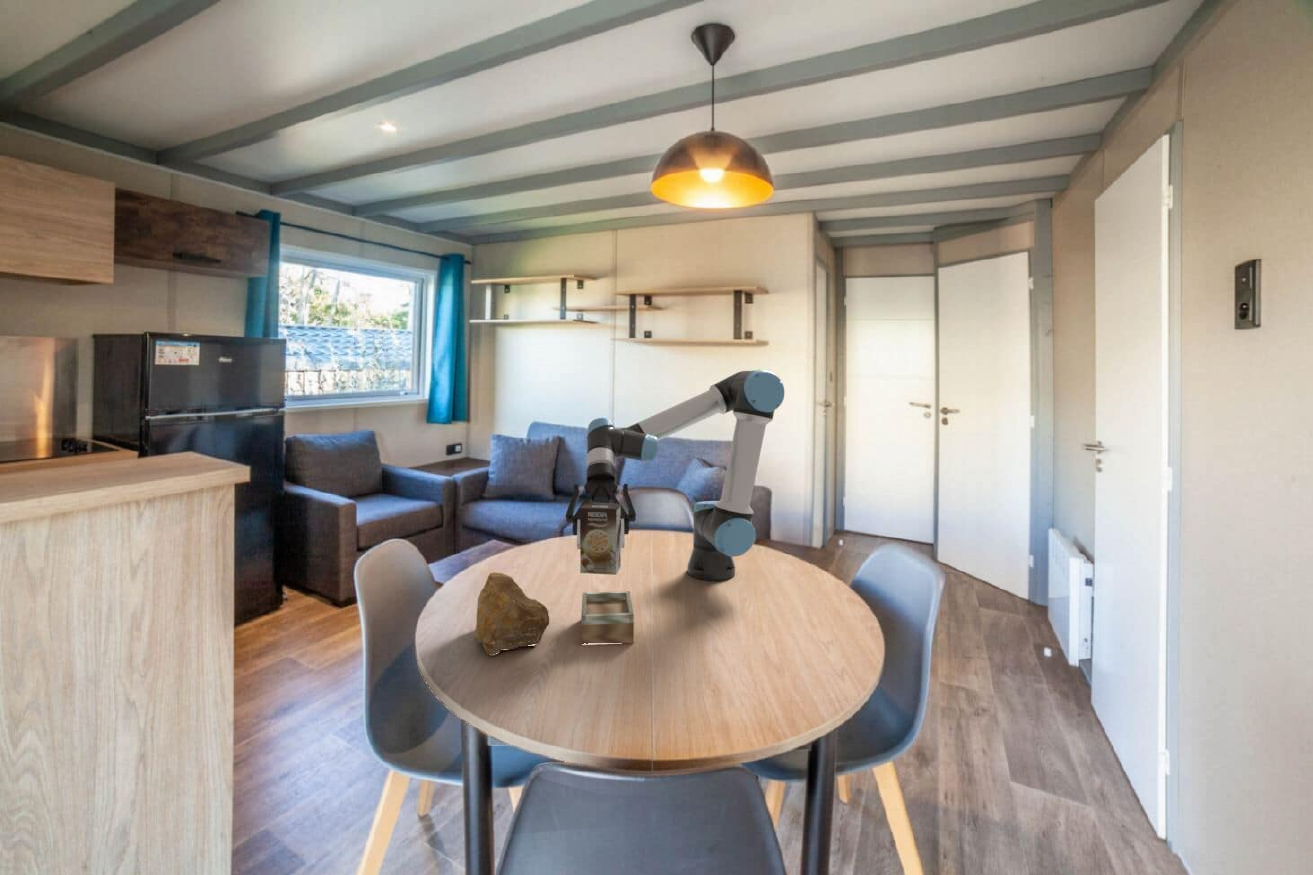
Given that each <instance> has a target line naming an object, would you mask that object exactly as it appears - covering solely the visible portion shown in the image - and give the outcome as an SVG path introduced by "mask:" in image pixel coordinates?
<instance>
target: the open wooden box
mask: <svg viewBox="0 0 1313 875" xmlns="http://www.w3.org/2000/svg"><path fill="white" fill-rule="evenodd" d="M631 595H632V594H631V591H630V590H622V591H597V592H596V591H595V592H594V591H593V592H591V591H590V592H587V591H586V592H582V595H581V596H582V597H581V598H582V600H581V614H580V615H581V618H580V620H581V622H580V623H581V625H580V628H581V630H580V631H581V633H580V634H581V641H580V642H581V644H584V643H586V644H588V643H634V644H635V640H634V638H635V637H634V636H635V630H634V629H635V615H634V614H635V612H634V607H633V603H632V602H633V601H632V596H631Z"/></svg>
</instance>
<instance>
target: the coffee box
mask: <svg viewBox="0 0 1313 875" xmlns="http://www.w3.org/2000/svg"><path fill="white" fill-rule="evenodd" d="M621 506H622V505H621V503H620V504H614V503H609V502H593V503H591V502H586V503H585V504H584V505H582V507H581V508H580V549H579V550H580V552H579V555H580V556H579V558H580V564H579V565H580V569H579V571H580V574H592V575H593V574H594V575H613V576H614V575H617V574H619V571H620V569H621V567H622V566H621V565H622V564H621V563H622V561H621V560H622V559H621V558H622V557H621V556H622V554H621V551H622V548H621Z"/></svg>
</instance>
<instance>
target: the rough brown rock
mask: <svg viewBox="0 0 1313 875" xmlns="http://www.w3.org/2000/svg"><path fill="white" fill-rule="evenodd" d="M475 620H476V625H475V634H474V640H475V642H476V643H477V644H478V643H479V644H482V645H483V649H484V651H485V652H486V653H487V655H488V654H491V655H493V654H496V653H498V652H500V653H501V652H502V650H501V649H511V650H514V649H518V648H519V646H520V647H526V646H528V645H532V644H537V643H539V644H540V642H541V641H542V637H543V634H544V632H545V631H546V630H547V628H548V626H549V624H550V615H549V610H548V608H547V607H546V606H545V605H544V604H543V603H541V602H540V601H539V600H537V599H532V598H529V596H527V595H526V594H525V593H524V591H523V589H522V588H521V587H520V586H519V584H517V582H515V580H514V579H513V577H511V576H510V575H509V574H506V573H502V572H495V571H494V572H491V573H489V574H488V576H487V578H486V581H485V584H484V586H483V588H482V589H481V590H480V593H479V594H478V597H477V608H476V619H475Z"/></svg>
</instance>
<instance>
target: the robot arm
mask: <svg viewBox="0 0 1313 875" xmlns="http://www.w3.org/2000/svg"><path fill="white" fill-rule="evenodd" d="M784 399H785V387H784V383H783V381H782V379H781V378H780V377H779V376H778V375H777V374H775V373H774V372H772V371H770V370H764V369H755V370H742V371H737V372H736V373H733V374H732V375H729V376H727V377H726V378H724V379H722V380H720V381H718V382H716V383H714V384H712V385H710V386H709V389H708V390H706V391H704V392H702V393H700V394H698V395H695V396H694V397H692V398H689V399H686V400H684V401H681V402H680V403H678V404H676V405H674V406H671V407H669V408H667V409H665V410H662V411H660V412H657V413H655V414H654V415H651V416H650V417H647V418H644V419H643V420H641V421H639V422H636V423H634V424H632V425H629V426H628V427H622V428H616V426H615V423H614V422H613V420H610V419H609V418H606V417H597V418H595V419H593V420H592V421H591V422H590V423H589V424H588V428H587V436H586V440H587V444H586V446H587V448H586V449H587V450H586V477H585V478H586V481H585V484H584V485H580V486H579V485H578V484H577V483H576V484H574V485H573V494H572V496H571V499H570V502H569V505H568V507H567V511H566V512H565V521H566V523H571V524H572V535H573V536H576V547H577V548H576V549H577V550H580V508H581V507H582V505H584V504H585V503H586V502H591V503H600V502H603V503H614V504H621V503H620V501H619V499H618V498H617V496H616V493H617V492H619V494H620V495H621V496H622V499H623V501H624V505H625V507H626V508H625V509H624V507H623V506H622V505H621V549H625V543H626V542H625V535H629V533H630V523H631V522H635V521H636V519H637V518H636V517H637V515H636V510H635V508H634V505H633V502H632V499H631V497H630V493H629V491H628V490H629V485H628V483H624V484H623V485H618V484H617V481H616V479H617V477H616V476H617V474H616V458H623V459H628V460H635V461H641V462H642V463H643V462H648V463H652V462H654V461H655V459H656V458H657V455H658V451H659V441H660V440H662V439H665V438H667V437H669V436H671V435H673V434H676V433H678V432H680V431H682V430H684V429H686V428H689V427H690V426H693V425H696V424H697V423H700V422H702V421H704V420H706V419H709V418H710V417H712V416H715V415H717V414H722V415H725V414H726V413H729V412H732V414H733V416H734V417H735V418H736V421H735V422H736V423H735V426H734V431H733V437H732V442H731V447H730V451H729V452H730V453H729V457H728V462H727V468H726V471H725V477H724V483H723V487H722V492H721V498H720V499H719V500H708V501H707V500H705V501H698V502H696V503H694V506H693V512H692V514H693V527H692V528H693V531H692V532H693V536H692V538H693V541H692V542H693V546H692V551H691V555H690V556H689V560H688V563H687V574H688V575H689V576H691V577H692V578H694V579H695V578H696V579H699V580H704V581H723V580H729V579H731V578H733V577H734V576H735V575H736V564H735V562H734V558H733V557H741V556H742V555H744V554H745V553H747V552H749V550H750V549H752V547H753V546H754V544H755V540H756V533H757V532H756V528H755V527H754V525H753V523H752V522H753V518H754V513H755V512H754V510H753V509H752V507H751V501H752V496H753V492H754V491H753V490H754V486H755V481H756V476H757V471H758V467H759V461H760V457H761V456H760V455H761V451H762V446H763V442H764V437H765V432H766V427H767V425H768V424H769V423H771V422H772V421H773V419H774V414H775V411H776V410H777V409H778V408H779V407H780V406H781V405H782V403H783V402H784ZM583 493H586V494H587V495H586V497H585V499H584V500H583V502H582V503H581V505H580V506H578V503H579V499H580V496H581V495H582V494H583ZM577 506H578V509H577V511H576V512H575V510H576V508H577ZM626 510H627V512H626Z"/></svg>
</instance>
